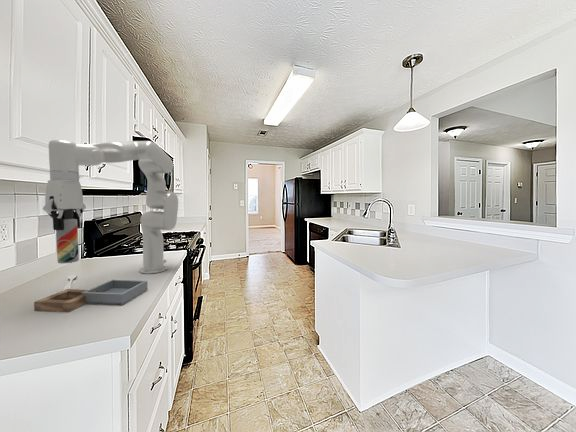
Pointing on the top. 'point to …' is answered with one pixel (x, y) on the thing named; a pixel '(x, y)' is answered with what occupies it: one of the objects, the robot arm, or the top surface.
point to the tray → (115, 292)
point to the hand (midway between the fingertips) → (67, 228)
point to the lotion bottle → (68, 239)
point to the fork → (69, 282)
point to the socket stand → (62, 301)
